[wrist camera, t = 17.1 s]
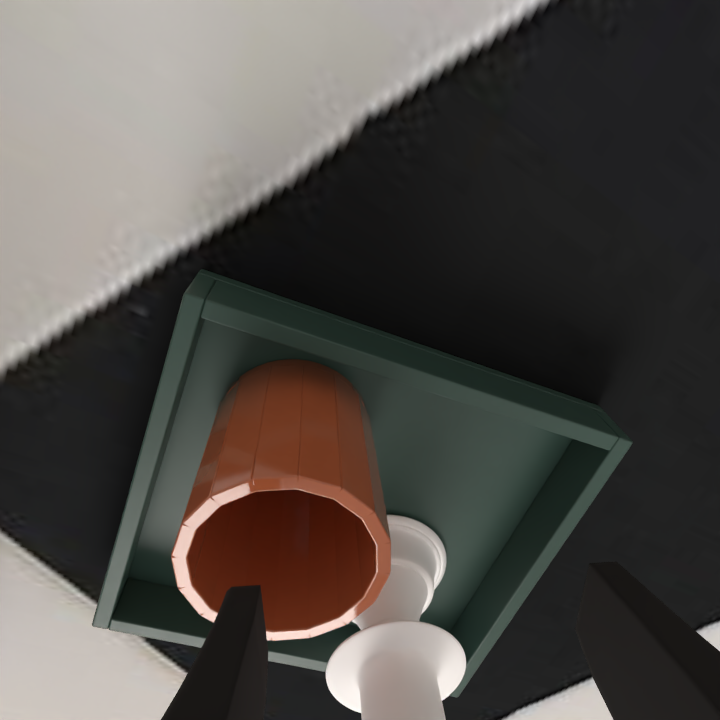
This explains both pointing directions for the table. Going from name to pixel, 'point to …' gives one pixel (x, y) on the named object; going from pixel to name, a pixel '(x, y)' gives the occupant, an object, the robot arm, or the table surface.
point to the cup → (287, 503)
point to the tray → (394, 456)
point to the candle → (400, 638)
